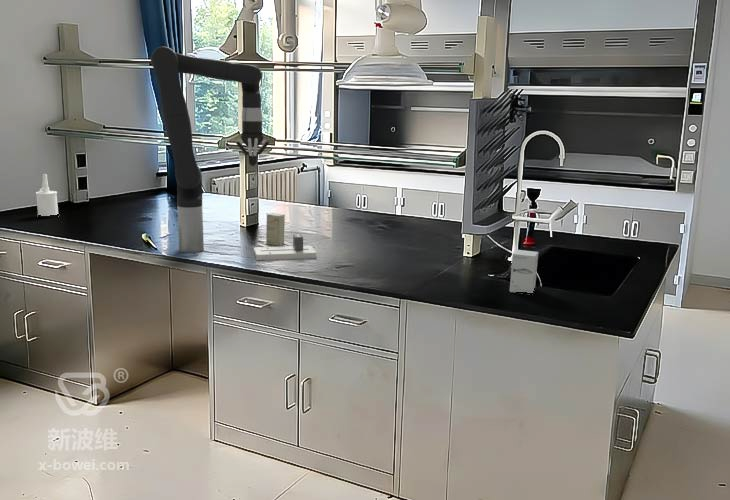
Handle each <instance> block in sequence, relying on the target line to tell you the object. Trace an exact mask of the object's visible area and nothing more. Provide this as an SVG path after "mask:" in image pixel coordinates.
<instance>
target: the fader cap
mask: <svg viewBox="0 0 730 500" xmlns="http://www.w3.org/2000/svg"><path fill="white" fill-rule="evenodd" d="M292 237H293V238H292V241H293V242H292V246H293V248H294V249H295V250H303V246H304V237H303V235H302V234H300V233H299V234H292Z"/></svg>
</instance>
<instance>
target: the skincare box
mask: <svg viewBox="0 0 730 500" xmlns="http://www.w3.org/2000/svg"><path fill="white" fill-rule="evenodd" d="M285 218H286V215H285V214H284V213H283V214H282V213H274V212H271V213H267V214H266V231H265V233H266V235H265V237H266V238H265V239H266V241H265V242H266V244H267V245H268V244H269V245H273V246H276V247H279V246H281V245H285V228H286V227H285V225H286V224H285V222H286V221H285V220H286V219H285Z"/></svg>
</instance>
